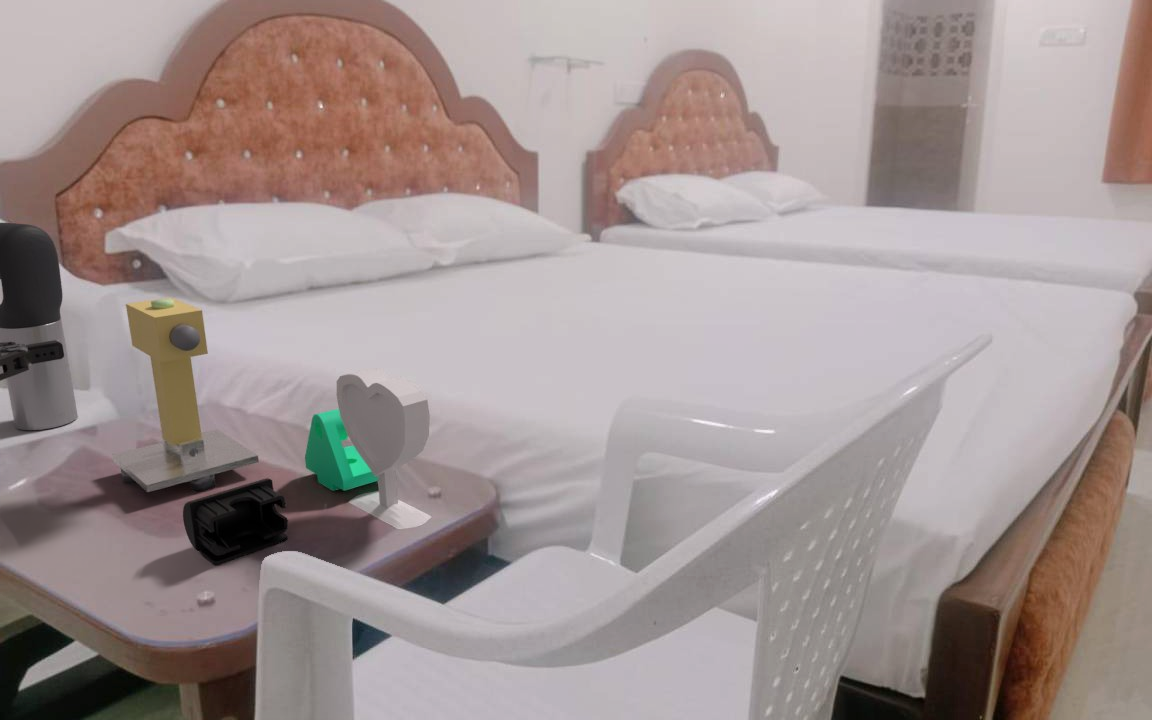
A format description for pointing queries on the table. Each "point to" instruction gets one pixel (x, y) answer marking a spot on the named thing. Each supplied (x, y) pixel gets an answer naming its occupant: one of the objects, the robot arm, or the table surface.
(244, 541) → the end cap
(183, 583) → the table surface
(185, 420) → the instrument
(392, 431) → the heart sculpture
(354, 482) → the camera mount
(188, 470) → the grey metal base plate
